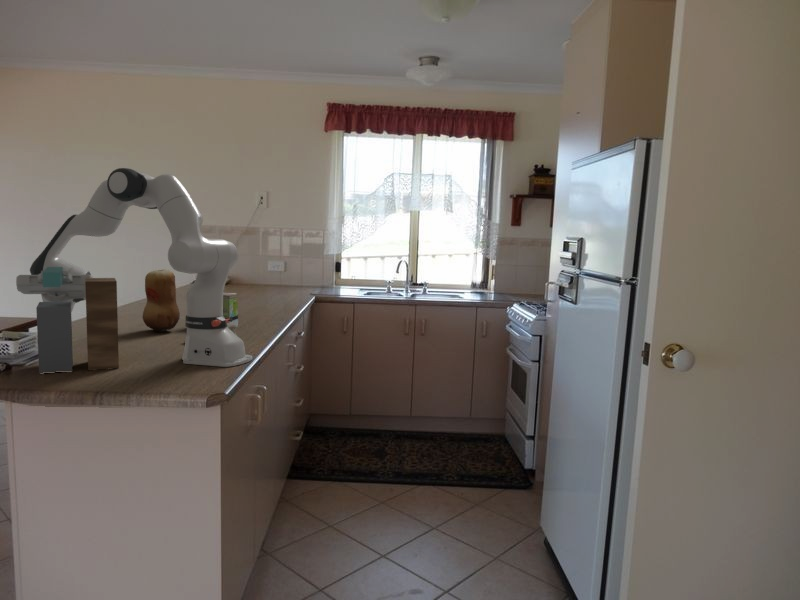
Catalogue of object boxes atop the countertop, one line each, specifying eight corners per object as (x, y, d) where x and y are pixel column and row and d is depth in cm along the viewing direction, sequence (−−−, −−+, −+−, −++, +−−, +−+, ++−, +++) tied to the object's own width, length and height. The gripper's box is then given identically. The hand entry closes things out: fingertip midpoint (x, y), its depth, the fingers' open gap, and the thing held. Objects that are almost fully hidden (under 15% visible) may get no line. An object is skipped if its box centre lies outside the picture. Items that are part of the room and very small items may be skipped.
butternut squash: (135, 332, 223) (134, 269, 220) (159, 327, 236) (158, 267, 233) (164, 335, 219) (163, 271, 216) (187, 330, 232) (186, 269, 229)
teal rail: (47, 280, 172) (47, 266, 171) (63, 279, 174) (62, 266, 173) (43, 287, 154) (42, 272, 154) (60, 286, 156) (59, 272, 156)
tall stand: (88, 361, 174) (85, 278, 171) (116, 359, 178) (114, 277, 175) (88, 370, 164) (85, 281, 161) (118, 368, 168) (116, 281, 165)
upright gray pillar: (42, 365, 169) (39, 302, 166) (73, 362, 172) (70, 301, 170) (39, 374, 158) (36, 307, 156) (72, 372, 162) (69, 306, 160)
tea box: (238, 326, 245) (238, 292, 244) (229, 330, 236) (229, 295, 234) (205, 324, 247) (205, 291, 245) (194, 328, 237) (194, 293, 235)
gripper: (18, 282, 176) (12, 263, 165) (92, 282, 186) (92, 263, 175) (17, 301, 174) (12, 282, 163) (93, 299, 184) (93, 282, 173)
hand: (54, 273), depth 169 cm, fingers closed on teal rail, 4 cm apart
